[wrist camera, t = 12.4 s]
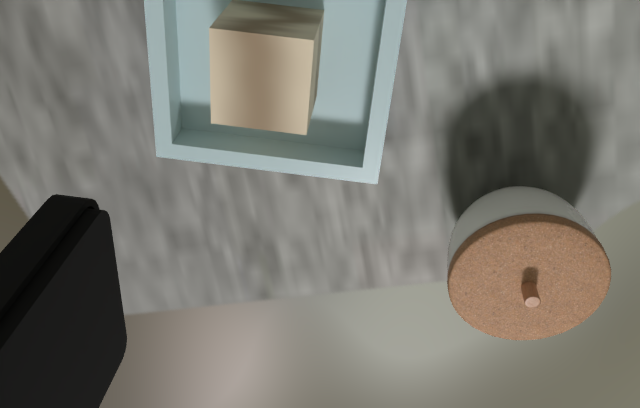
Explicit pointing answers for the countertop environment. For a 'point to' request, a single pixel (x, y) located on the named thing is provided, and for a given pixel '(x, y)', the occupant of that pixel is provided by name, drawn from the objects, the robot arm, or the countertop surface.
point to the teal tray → (330, 106)
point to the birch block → (265, 66)
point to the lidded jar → (525, 265)
